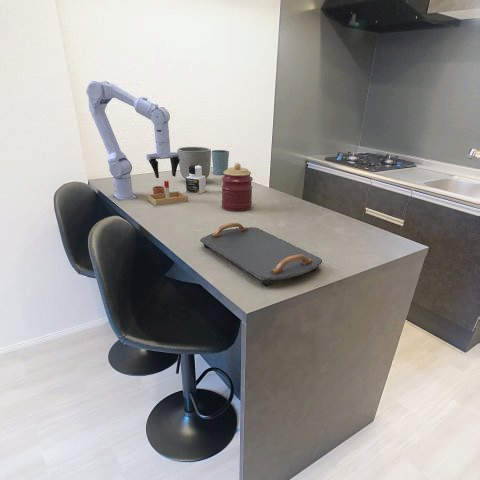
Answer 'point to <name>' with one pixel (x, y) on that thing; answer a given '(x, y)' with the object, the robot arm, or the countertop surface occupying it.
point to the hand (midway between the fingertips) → (165, 176)
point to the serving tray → (260, 252)
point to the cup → (158, 189)
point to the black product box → (195, 180)
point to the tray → (161, 198)
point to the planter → (194, 159)
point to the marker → (167, 189)
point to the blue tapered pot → (220, 161)
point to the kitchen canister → (237, 189)
